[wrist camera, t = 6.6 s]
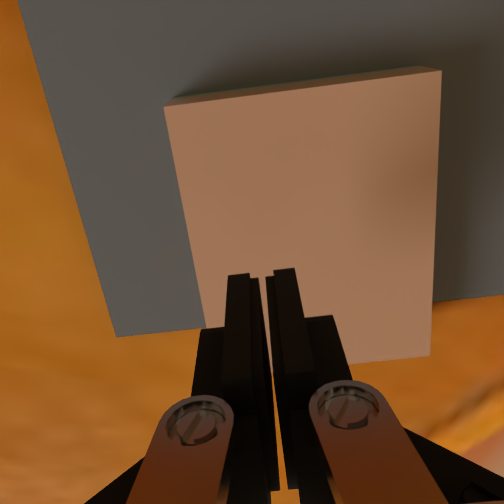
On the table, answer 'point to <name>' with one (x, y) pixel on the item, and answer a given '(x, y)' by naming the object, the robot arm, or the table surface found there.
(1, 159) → the table surface
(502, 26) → the mat
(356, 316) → the tile
